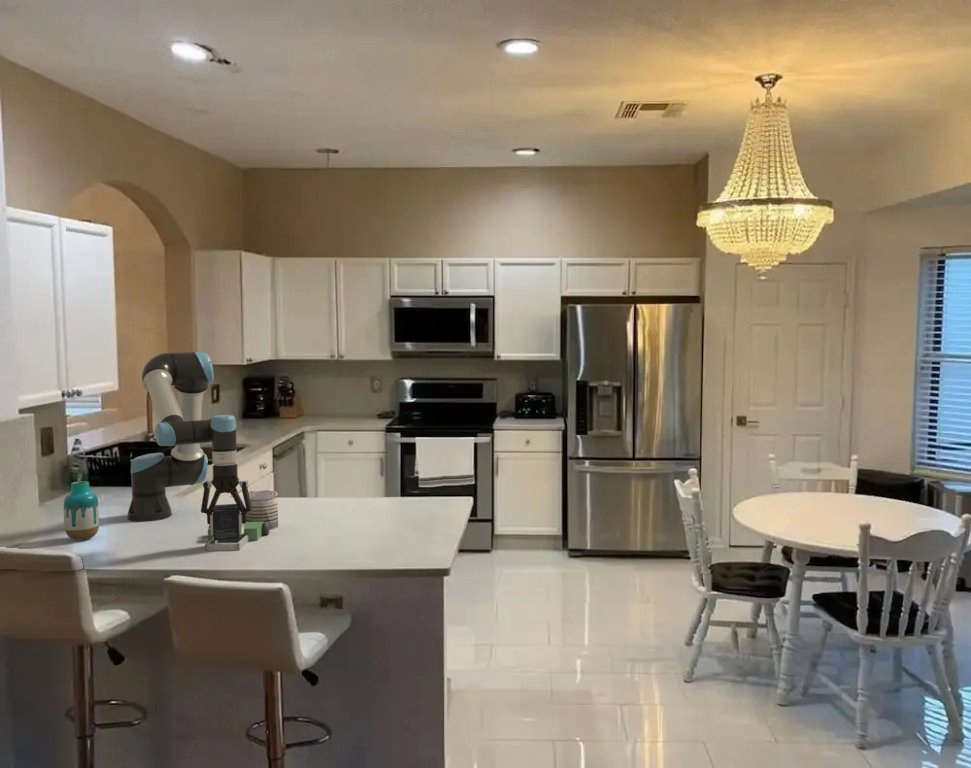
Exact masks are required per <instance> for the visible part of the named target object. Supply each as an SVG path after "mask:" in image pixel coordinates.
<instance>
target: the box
mask: <svg viewBox="0 0 971 768" xmlns="http://www.w3.org/2000/svg"><path fill="white" fill-rule="evenodd" d="M212 513H213V529H214V541H216V540H230V539H239V538H240V536H241V535H239V514H240V513H241V512H240V510H239V508H238V506H237V504H236V503H230V504H229V503H228V504H216V505H215V506H214V508H213V512H212Z"/></svg>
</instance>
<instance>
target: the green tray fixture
mask: <svg viewBox="0 0 971 768" xmlns="http://www.w3.org/2000/svg"><path fill="white" fill-rule="evenodd" d="M270 531H271V530H270V526H269V523H264V522H246V523H245V524H244V533H243V534H242V535H241V536H240V538H239V539H230V540H216V541H214V535H211V525H210V524H208V528H207V542H206V543H205V544H204V552H206V551H207V552H210V551H211V552H214V551H216V552H217V551H240V550H241V549H242V548H244V546H245V545H246V544H248V542H251V541H254V542H255V541H256V542H257V541H259V539H260V538H262V537H263V536H268V535H270ZM219 542H231V543H219ZM232 542H235V543H232ZM236 542H237V543H236Z"/></svg>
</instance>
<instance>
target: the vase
mask: <svg viewBox="0 0 971 768" xmlns="http://www.w3.org/2000/svg"><path fill="white" fill-rule="evenodd" d="M99 509H100V507H99V500H98V496H97V494H96V493H94V492H92V491H91V489H90V482H89V481H75V482H71V484H70V492H69V494H67V495H66V496H65V498H64V500H63V523H64V530H65V534H66V535H67V536H68V538H70V539H72V540H76V541H84V540H87V539H91V538H93V537H94V536H96V535H97V534H98V531H99V528H100V510H99Z"/></svg>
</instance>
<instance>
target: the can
mask: <svg viewBox="0 0 971 768" xmlns="http://www.w3.org/2000/svg"><path fill="white" fill-rule="evenodd" d="M278 496H279V492H278V491H275V490H268V489H265V490H257V491H252V492H251V491H250V492H249V497H250V501H251V505H252V510H251V511H250V512H247V513H246V516H247V522H264V523H269V526H270V531H271V530H275V529H277V528H279V508H278V505H279V504H278V503H279V502H278Z"/></svg>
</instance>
